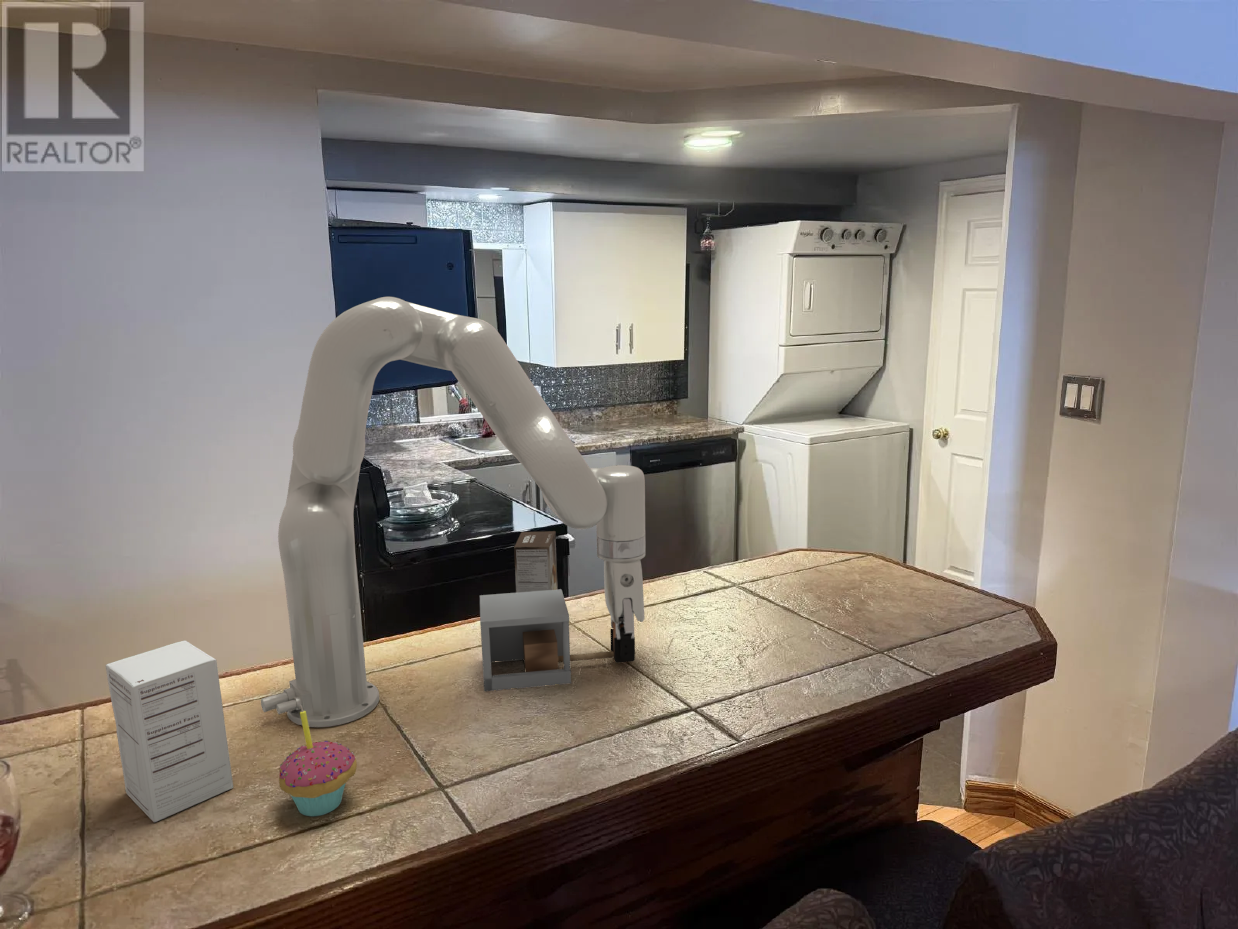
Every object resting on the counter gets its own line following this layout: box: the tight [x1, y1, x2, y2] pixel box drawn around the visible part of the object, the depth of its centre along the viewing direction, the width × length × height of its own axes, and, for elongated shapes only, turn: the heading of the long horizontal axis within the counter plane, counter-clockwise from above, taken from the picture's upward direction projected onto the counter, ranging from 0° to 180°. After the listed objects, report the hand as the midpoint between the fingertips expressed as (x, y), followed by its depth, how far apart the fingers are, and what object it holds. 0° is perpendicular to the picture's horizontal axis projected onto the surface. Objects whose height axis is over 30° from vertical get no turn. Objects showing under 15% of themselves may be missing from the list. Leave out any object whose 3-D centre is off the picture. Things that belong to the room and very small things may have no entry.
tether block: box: [523, 622, 628, 672], centre depth 130 cm, size 17×5×6 cm, turn 100°
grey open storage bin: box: [479, 588, 572, 692], centre depth 129 cm, size 13×11×11 cm
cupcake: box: [278, 705, 358, 817], centre depth 96 cm, size 9×8×12 cm
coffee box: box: [513, 530, 558, 593], centre depth 146 cm, size 9×6×16 cm
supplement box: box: [105, 640, 234, 823], centre depth 98 cm, size 10×9×17 cm
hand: (622, 655), depth 132 cm, fingers closed on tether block, 2 cm apart
